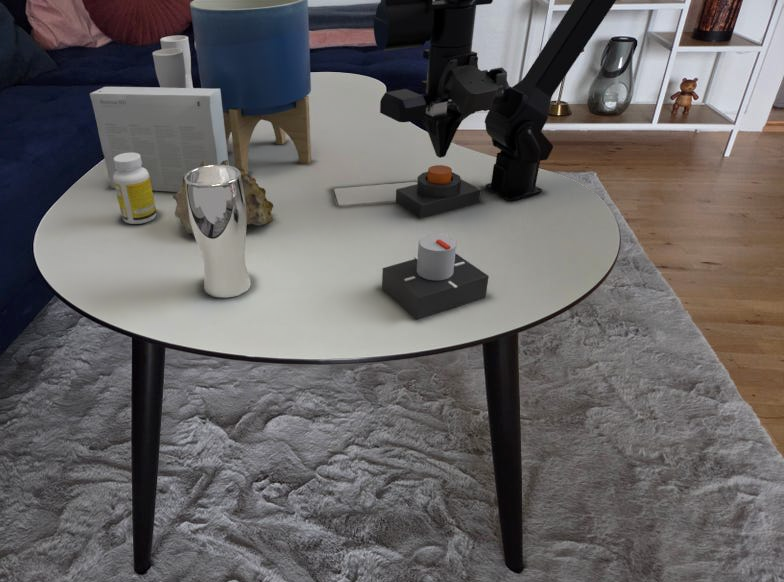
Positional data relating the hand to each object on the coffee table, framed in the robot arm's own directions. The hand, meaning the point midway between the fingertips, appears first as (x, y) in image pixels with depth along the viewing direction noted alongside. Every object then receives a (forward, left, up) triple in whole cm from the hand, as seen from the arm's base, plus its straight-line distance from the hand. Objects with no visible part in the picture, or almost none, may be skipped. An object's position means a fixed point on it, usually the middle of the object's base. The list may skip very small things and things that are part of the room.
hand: (440, 156), depth 96 cm
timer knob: (+16, +22, -4) cm, 27 cm away
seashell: (+32, -9, -8) cm, 34 cm away
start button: (0, 0, -4) cm, 4 cm away
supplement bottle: (+43, -19, -8) cm, 48 cm away
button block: (0, 0, -7) cm, 7 cm away
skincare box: (+35, -29, -8) cm, 46 cm away
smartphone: (+6, -7, -8) cm, 12 cm away
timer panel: (+16, +22, -7) cm, 28 cm away
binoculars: (+26, -51, -8) cm, 57 cm away
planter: (+16, -33, -8) cm, 38 cm away
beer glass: (+38, +8, -8) cm, 39 cm away
